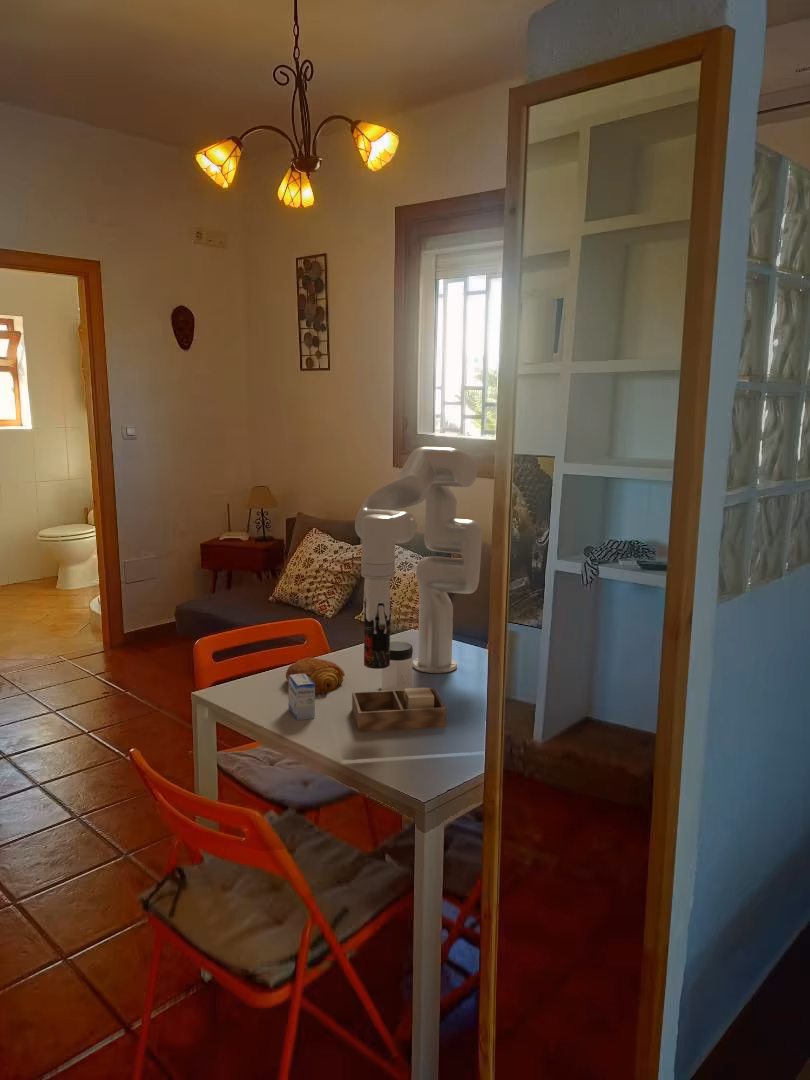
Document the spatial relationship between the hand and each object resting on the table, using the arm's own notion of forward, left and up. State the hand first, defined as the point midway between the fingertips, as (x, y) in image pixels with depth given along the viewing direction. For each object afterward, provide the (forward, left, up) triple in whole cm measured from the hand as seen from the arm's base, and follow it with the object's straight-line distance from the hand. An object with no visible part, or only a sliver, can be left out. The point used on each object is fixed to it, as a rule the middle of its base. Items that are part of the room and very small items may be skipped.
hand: (377, 645), depth 181 cm
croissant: (-27, -12, -19) cm, 35 cm away
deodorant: (0, 0, -5) cm, 5 cm away
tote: (0, +5, -18) cm, 19 cm away
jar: (-20, +8, -19) cm, 28 cm away
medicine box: (-8, -17, -19) cm, 26 cm away
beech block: (0, +10, -18) cm, 21 cm away
